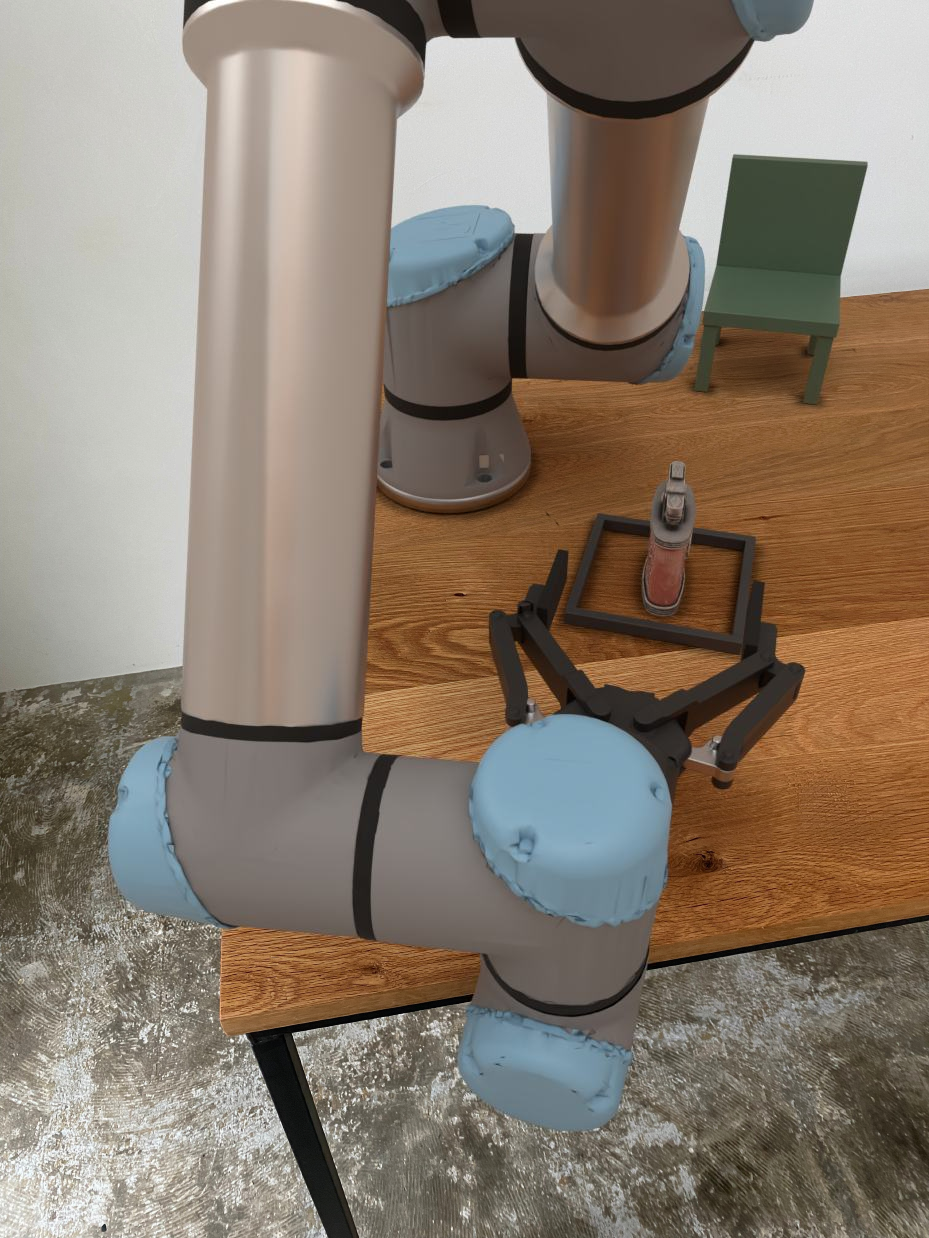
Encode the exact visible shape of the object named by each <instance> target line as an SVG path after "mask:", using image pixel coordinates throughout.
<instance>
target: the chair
mask: <svg viewBox="0 0 929 1238" xmlns="http://www.w3.org/2000/svg"><path fill="white" fill-rule="evenodd" d="M868 163H869V162H868V161H863V160H862V161H861V160H845V159H826V158H807V157H792V156H791V157H790V156H789V157H788V156H771V155H769V156H768V155H755V154H753V155H752V154H737V153H734V154H733V155H732V158H731V164H730V171H729V178H728V184H727V185H728V186H727V191H726V198H725V203H724V204H725V205H724V212H723V219H722V225H721V230H720V238H719V244H718V250H717V255H716V256H717V257H716V262H715V263H716V264H715V267H714V272H713V275H712V279H711V283H710V287H709V290H708V294H707V298H706V302H705V306H704V310H703V314H702V321H701V325H703V329H702V336H701V342H700V343H701V344H700V349H699V357H698V363H697V370H696V375H695V376H696V377H695V383H694V391H696V392H705V393H708V392H709V387H710V382H711V376H712V369H713V362H714V358H715V357H714V356H715V352H716V351H715V350H716V346H719V344H720V339H721V333H722V328H732V329H740V330H741V329H743V330H752V331H763V332H772V333H773V332H774V333H782V334H783V333H784V334H793V335H802V336H809V341H808V344H807V350H806V353H807V355H811V356H812V360H811V363H810V368H809V371H808V372H809V373H808V376H807V380H806V385H805V390H804V394H803V400H802V403H803V404H806V405H807V404H808V405H816V406H817V405H818V403H819V398H820V395H821V390H822V387H823V383H824V379H825V375H826V371H827V367H828V362H829V358H830V355H831V350H832V347H833V342H834V339H836V338H837V336H838V332H839V328H840V325H841V324H840V321H841V320H840V319H841V318H840V317H841V287H842V286H841V285H842V283H841V282H842V273H843V269H844V265H845V262H846V257H847V252H848V248H849V245H850V240H851V236H852V232H853V228H854V224H855V219H856V216H857V211H858V208H859V203H860V199H861V195H862V191H863V186H864V183H865V180H866V179H865V178H866V175H867V172H868V171H867V170H868V166H869V165H868Z"/></svg>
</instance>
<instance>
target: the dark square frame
mask: <svg viewBox="0 0 929 1238" xmlns="http://www.w3.org/2000/svg"><path fill="white" fill-rule="evenodd" d="M604 530H605V531H610V532H616V533H624V534H631V535H637V536H644V537H649V538H650V533H651V528H650V520H647V519H642V518H635V517H634V518H633V517H628V516H622V515H614V514H608V513H600V512H598V513H597V514H596V516H595V520H594V523H593V525H592V529H591V531H590V534H589V537H588V540H587V544H586V546H585V550H584V552H583V556H582V559H581V562H580V564H579V567H578V571H577V573H576V576H575V580H574V583H573V586H572V589H571V592H570V594H569V597H568V600H567V602H566V607H565V609H564V612H563V623H564V624H567V625H573V626H578V627H579V626H580V627H583V628H588V629H589V628H590V629H596V630H600V631H606V632H610V633H616V634H623V635H629V636H633V637H640V638H645V639H650V640H655V641H661V642H667V643H672V644H679V645H683V646H684V645H685V646H689V647H695V648H701V649H706V650H711V651H712V650H713V651H717V652H722V653H728V654H733V655H734V654H735V655H741V652H742V644H743V636H744V628H745V620H746V612H747V607H748V603H749V598H750V589H751V580H752V572H753V566H754V565H753V564H754V557H755V548H756V540H757V537H756V536H755V535H749V534H748V535H747V534H741V533H736V532H728V531H721V530H716V529H707V528H701V527H694V526H693V532H692V537H691V544H695V545H702V546H708V547H714V548H721V549H726V550H727V549H728V550H735V551H741V552H742V558H741V559H742V560H741V565H740V573H739V581H738V587H737V594H736V602H735V608H734V616H733V624H732V629H731V634H729V633H724V632H718V631H713V630H708V629H707V630H706V629H700V628H695V627H689V626H685V625H684V626H683V625H678V624H671V623H666V622H661V621H655V620H650V619H649V620H648V619H644V618H637V617H631V616H627V615H621V614H614V613H609V612H604V611H597V610H591V609H586V608H580V606H581V603H582V599H583V596H584V593H585V590H586V587H587V584H588V581H589V578H590V575H591V571H592V568H593V565H594V562H595V559H596V555H597V553H598V550H599V546H600V543H601V540H602V537H603V534H604V532H605V531H604Z"/></svg>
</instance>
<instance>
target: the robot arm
mask: <svg viewBox="0 0 929 1238" xmlns="http://www.w3.org/2000/svg"><path fill="white" fill-rule="evenodd" d="M183 1H184V2H183V3H184V4H183V20H182V37H181V43H182V53H183V54H182V55H183V57H184V60H185V63H186V65H188V67H189V69H190V71H191V72H192V73H193V75H195V77H196V79H198V80H199V82H200V83H201V84H202V85H203V86H204V87H205V89H206V112H205V133H204V158H203V177H202V178H203V180H202V181H203V182H202V201H201V202H202V204H201V205H202V206H201V227H200V230H201V231H200V247H199V248H200V251H199V275H198V296H197V297H198V298H197V322H196V323H197V324H196V345H195V364H194V365H195V366H194V367H195V368H194V391H193V411H192V413H193V414H192V416H193V417H192V436H191V439H192V440H191V459H190V461H191V462H190V483H189V504H188V505H189V506H188V527H187V528H188V529H187V530H188V531H187V552H186V553H187V554H186V575H185V599H184V602H185V603H184V623H183V646H182V647H183V648H182V649H183V650H182V669H181V674H182V675H181V691H180V692H181V693H180V694H181V695H180V708H181V709H180V710H181V713H180V725H179V733H177V734H176V735H175V736H172V735H171V736H169V735H168V736H167V735H164V736H159V737H156V738H154V739H152V740H150V741H148V742H146V743H145V744H144V745H142V746H141V747H139V749H138V750H137V751H136V752H135V753H134V754H133V756H132V757H131V758H130V760H129V761H128V763H127V766H125V767H126V768H125V769H124V771H123V773H122V775H121V778H120V779H119V782H118V786H117V803H116V806H115V808H114V810H113V812H112V813H111V814H110V816H109V821H108V830H107V831H108V832H107V853H108V862H109V866H110V871H111V874H112V878H113V880H114V883H115V886H116V887H117V890H118V891H119V893H120V895H122V897H123V898H124V899H125V900H126V901H127V902H128V903H129V904H130V905H132V906H133V907H134V908H136V909H139V910H141V911H144V912H146V913H151V914H155V915H161V916H165V917H169V918H175V919H180V920H186V921H191V922H196V923H200V924H206V925H211V926H214V927H215V928H220V929H222V930H229V931H230V930H235V929H237V928H250V929H251V928H252V929H263V930H273V931H281V932H282V931H283V932H294V933H304V934H315V935H327V936H336V937H337V936H338V937H347V938H359V939H360V940H361V939H363V940H365V941H375V942H376V941H377V942H378V943H387V944H395V945H403V946H412V947H419V948H420V947H421V948H428V949H429V948H430V949H438V950H447V951H455V952H466V953H474V954H479V956H480V957H479V958H480V959H479V960H480V965H479V966H480V967H479V975H478V978H477V981H476V985H475V990H474V993H473V996H472V998H471V1001H470V1004H466V1007H465V1010H464V1015H465V1018H466V1019H465V1024H464V1028H463V1032H462V1036H461V1039H460V1044H459V1048H458V1052H457V1068H458V1071H459V1074H460V1076H461V1079H462V1080H463V1082H464V1084H465V1085H466V1086H467V1088H468V1089H469V1090H470V1091H471V1092H472V1093H473V1094H474V1095H475V1096H476V1097H477V1098H479V1099H480V1100H481V1101H482V1102H484V1103H485V1104H487V1105H488V1106H490V1107H491V1108H493V1109H495V1110H497V1111H498V1112H500V1113H502V1114H504V1115H506V1116H508V1117H510V1118H513V1119H516V1120H518V1121H521V1122H524V1123H527V1124H530V1125H533V1126H536V1127H540V1128H543V1129H547V1130H553V1131H558V1132H559V1131H560V1132H570V1133H571V1132H572V1133H573V1132H574V1133H577V1132H578V1133H579V1132H580V1133H581V1132H588V1131H592V1130H596V1129H599V1128H602V1127H603V1126H605V1125H607V1124H608V1123H609V1122H611V1120H612V1119H613V1118H614V1117H615V1116H616V1114H617V1112H618V1110H619V1108H620V1105H621V1101H622V1098H623V1097H622V1096H623V1092H624V1088H625V1084H626V1079H627V1074H628V1069H629V1066H630V1065H631V1064H632V1063H633V1054H634V1052H633V1050H632V1049H633V1042H634V1036H635V1032H636V1025H637V1020H638V1016H639V1015H638V1014H639V1009H640V1003H641V999H642V993H643V988H644V983H645V978H646V973H647V969H648V964H649V956H650V948H651V947H650V946H651V937H652V932H653V927H654V924H655V919H656V915H657V911H658V908H659V903H660V900H661V899H660V898H661V895H662V893H663V891H664V890H665V889H666V885H667V882H668V877H669V876H668V875H669V866H668V865H669V863H668V862H669V861H668V860H669V859H668V858H669V855H668V854H669V851H668V849H669V840H670V832H671V831H670V830H671V822H672V816H673V811H674V806H675V799H676V793H677V787H678V781H679V778H680V776H681V775H682V774H683V773H684V772H685V771H687V770H689V771H693V772H696V773H699V774H703V775H706V776H709V777H711V778H710V781H711V784H712V786H713V787H714V788H716V789H717V790H720V791H726V790H729V789H731V787H732V786H733V782H734V779H735V775H736V771H737V768H738V765H739V763H740V762H741V761H742V760H743V759H744V758H745V757H746V756H747V755H748V753H750V751H751V750H752V749H753V748H754V747H755V746H756V745H757V743H759V741H760V740H762V739H763V737H764V736H765V735H766V734H767V733H768V732H769V730H771V729H772V727H773V726H774V725H775V724H776V723H777V722H778V721H779V720H780V719H781V717H783V715H784V714H785V713H786V712H787V711H788V710H789V709H790V708H791V707H792V706H793V704H794V703H795V702H796V701H797V699H798V698H799V694H800V691H801V687H802V684H803V681H804V678H805V674H806V667H805V666H804V665H803V664H801V663H799V662H796V661H795V662H794V661H792V662H791V661H790V662H788V663H784V662H782V661H781V660H780V659H778V657H777V656H776V653H777V652H776V651H777V650H776V649H777V638H778V628H777V625H776V624H775V623H772V622H766V621H762V613H763V605H764V604H763V603H764V594H765V584H766V582H765V581H761V580H754V579H753V581H752V585H751V590H750V593H749V597H748V605H747V612H746V620H745V628H744V636H743V644H742V649H741V653H740V661H738V662H736V663H735V664H733V665H731V666H729V667H727V668H725V669H724V670H722V671H720V672H718V673H716V674H715V675H712V676H710V677H709V678H707V679H706V680H704V681H702V682H700V683H698V684H696V685H695V686H693V687H691V688H689V689H686V690H685V689H684V688H680V689H678V690H676V691H674V692H672V693H671V694H669V695H666V696H665V697H663V698H662V699H659V698H657V697H655V695H656V693H654V692H649V691H644V690H643V691H642V690H628V689H625V688H622V687H620V686H617V685H612V684H608V683H604V685H603V686H602V687H595V685H594V684H593V682H592V681H591V680H590V678H589V677H588V676H587V675H586V673H585V672H584V670H583V669H577V667H576V665H574V663H573V662H572V660H571V659H570V658H569V656H568V655H567V654H566V653H565V651H564V650H563V648H562V647H561V646H560V644H559V642H557V640H556V639H555V638H554V636H553V634H551V632H550V630H551V627H552V624H553V621H554V618H555V615H556V612H557V609H558V607H559V604H560V601H561V598H562V596H563V593H564V590H565V587H566V584H567V581H568V571H569V570H568V569H569V568H568V567H569V550H566V549H562V548H561V549H559V548H558V549H557V551H556V554H555V557H554V560H553V563H552V565H551V568H550V570H549V573H548V575H547V577H546V581H545V583H544V584H540V583H534V582H533V583H532V584H531V585H530V586H529V587H528V589H527V593H526V595H525V597H524V599H521V600H520V601H518V602H517V605H516V612H515V613H511V614H507V613H506V612H505V611H504V610H502V609H495V610H492V611H490V612H488V613H489V614H488V643H489V649H490V651H491V655H492V659H493V663H494V667H495V670H496V673H497V678H498V680H499V684H500V688H501V692H502V696H503V699H504V703H505V708H504V709H505V710H504V724H505V725H504V732H503V733H502V734H501V735H500V736H499V737H497V738H496V739H495V740H494V741H493V742H491V744H490V745H489V747H488V748H487V750H485V752H484V754H483V755H482V757H481V759H480V761H479V762H478V761H466V760H457V759H443V758H442V759H441V758H430V757H420V756H419V757H418V756H408V755H407V756H406V755H401V754H391V753H389V754H388V753H377V752H369V751H364V749H363V748H364V747H363V720H364V719H363V718H364V717H365V716H364V715H365V700H366V683H367V682H366V681H367V667H368V666H367V665H368V650H369V649H368V648H369V633H370V632H369V630H370V629H369V628H370V613H371V612H370V611H371V596H372V595H371V593H372V591H371V590H372V578H373V577H372V576H373V560H374V559H373V557H374V540H375V524H376V507H377V506H376V504H377V487H378V489H379V490H380V491H381V492H382V493H383V494H384V495H385V496H386V497H387V498H389V499H391V500H392V501H394V502H395V503H398V504H400V505H402V506H404V507H407V508H410V509H413V510H417V511H421V512H427V513H436V514H459V513H460V514H461V513H467V512H474V511H478V510H482V509H486V508H489V507H492V506H495V505H498V504H499V503H502V502H504V501H506V500H507V499H509V498H511V497H512V496H513V495H516V493H517V492H519V491H520V490H521V489H523V487H524V485H525V484H526V483H527V481H528V479H529V478H530V474H531V471H532V450H531V449H532V448H531V445H530V441H529V437H528V434H527V431H526V429H525V426H524V423H523V420H522V418H521V415H520V412H519V409H518V407H517V403H516V401H515V398H514V396H513V379H520V380H553V381H578V382H579V381H580V382H606V383H607V382H608V383H609V382H610V383H628V384H630V385H635V386H643V385H646V384H651V383H656V384H657V383H668V382H670V381H672V380H674V379H675V378H677V377H678V376H679V375H680V374H681V373H682V372H683V371H684V369H686V366H687V365H688V363H689V360H690V358H691V356H692V352H693V350H694V347H695V337H696V336H695V335H696V334H697V333H698V330H699V327H700V323H701V319H702V313H703V312H702V311H703V305H704V298H705V286H706V285H705V284H706V261H705V260H706V259H705V253H704V250H703V247H702V246H701V245H700V243H699V241H698V240H697V239H696V238H694V237H692V236H688V235H684V234H683V233H682V231H681V229H680V228H681V227H680V226H681V223H682V218H683V214H684V209H685V205H686V200H687V195H688V192H689V188H690V183H691V180H692V175H693V171H694V165H695V161H696V157H697V154H698V153H697V152H698V148H699V144H700V141H701V135H702V131H703V126H704V123H705V118H706V114H707V109H708V105H709V101H710V97H712V96H713V95H715V94H716V93H717V92H718V91H719V90H720V89H722V88H723V87H724V86H725V85H726V84H727V83H728V82H729V81H730V80H731V79H732V78H733V77H734V75H735V74H736V73H737V72H738V71H739V69H740V68H741V66H742V65H743V63H744V62H745V61H746V59H747V58H748V55H749V54H750V52H751V50H752V49H753V46H754V44H755V42H764V43H765V42H770V41H772V40H773V39H775V37H777V36H783V35H792V34H794V33H797V32H798V31H800V30H801V29H802V28H803V27H804V26H805V25H806V23H807V22H808V20H809V18H810V16H811V13H812V11H813V7H814V2H815V0H183ZM441 37H449V38H451V39H487V38H488V39H504V38H505V39H511V38H512V39H513V38H514V42H515V46H516V48H517V49H516V50H517V52H518V55H519V57H520V59H521V61H522V63H523V65H524V67H525V69H526V70H527V72H528V73H529V75H530V76H531V78H532V79H533V80H534V82H535V83H536V85H538V86H539V87H540V88H541V89H542V90H543V92H544V93H546V109H547V113H546V114H547V133H548V158H549V159H548V160H549V174H550V175H549V179H550V180H549V181H550V182H549V183H550V204H551V205H550V206H551V225H550V226H549V228H548V229H547V230H546V232H544V233H543V232H534V233H526V232H525V233H522V232H521V233H519V232H518V233H517V232H516V226H515V224H514V223H513V220H512V218H511V216H510V215H509V213H508V212H506V211H505V210H503V209H501V208H498V207H489V206H488V205H484V204H482V205H479V204H464V205H463V204H462V205H455V206H447V207H441V208H438V209H433V210H430V211H426V212H423V213H420V214H417V215H414V216H411V217H410V218H408V219H405V220H402V221H401V222H399V223H397V224H396V225H394V226H392V217H393V202H394V186H395V185H394V182H395V166H396V165H395V162H396V147H397V131H398V130H397V129H398V120H399V118H400V117H402V116H403V115H404V114H406V113H407V112H409V110H410V109H412V108H413V106H415V104H416V103H417V102H418V101H419V99H420V97H421V96H422V94H423V90H424V86H425V77H426V73H425V71H426V53H427V45H428V43H429V42H430V41H431V40H434V39H437V38H441ZM383 394H384V402H383V406H382V397H383ZM516 643H517V644H518V645H519V647H520V648H521V649H522V651H523V652H524V654H525V656H526V657H527V658H528V660H529V661H530V663H531V664H532V665H533V667H534V668H535V670H536V671H537V674H538V675H539V676H540V677H541V679H542V680H543V682H544V683H545V684H546V686H547V687H548V689H549V690H550V691H551V693H552V694H553V696H554V698H555V699H556V700H557V702H558V704H559V706H560V708H559V709H558V710H555V712H553V713H552V714H550V715H547V716H545V715H544V714H543V713H542V710H541V707H540V706H539V705H538V703H536V702H537V701H536V700H535V699H534V698H531V697H530V698H529V686H528V681H527V678H526V675H525V672H524V668H523V665H522V661H521V657H520V655H519V652H518V648H517V645H516ZM752 697H753V698H752ZM751 698H752V699H751ZM749 699H751V701H749V703H747V704H746V706H745V707H744V708H743V709H742V710H741V711H740V712H739V713H738V714H737V715H736V716H735V717H734V718H733V719H732V720H731V721H730V722H729V724H728V725H727V726H726V727H725V729H724V731H723V733H722V736H721V735H719V734H715V735H713V736H712V738H711V739H709V740H707V741H706V742H705V744H703V745H702V746H693V745H692V741H691V739H690V737H691V736H692V734H693V733H694V732H695V730H697V729H699V728H701V727H702V726H704V725H705V724H707V723H710V722H711V721H713V720H714V719H716V718H719V716H722V715H723V714H725V713H726V712H729V711H730V710H732V709H733V708H735V707H737V706H738V705H740V704H742V703H744V702H746V701H748V700H749Z"/></svg>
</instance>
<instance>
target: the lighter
mask: <svg viewBox="0 0 929 1238" xmlns="http://www.w3.org/2000/svg"><path fill="white" fill-rule="evenodd" d="M686 469H687V468H686V464H685V463H684V462H683V461H678V460H677V461H676V460H675V461H672V462H671V463H670V465H669V469H668V478H667V480H665V481H662V482H660V483H659V484H658V486H657V488H656V490H655V493H654V495H653V498H652V501H651V506H650V513H649V521H650V528H651V533H650V537H649V542H648V550H647V557H646V559H645V562H644V566H643V571H642V576H641V597H642V601H643V606H644V609H645V610H646V611H647V612H648V613H649V614H651V615H654V616H657V617H668V616H669V617H670V616H673V615H674V614H676V613H677V611H678V609H679V606H680V604H681V601H682V597H683V591H684V586H685V579H686V574H685V563H686V560H687V559H688V558H689V555H690V549H691V544H692V543H691V537H692V532H693V527H694V525H695V519H696V514H697V513H696V512H697V509H696V499H695V496H694V495H695V494H694V492H693V489H692V487H691V485H689V484H688V483H686Z"/></svg>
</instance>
